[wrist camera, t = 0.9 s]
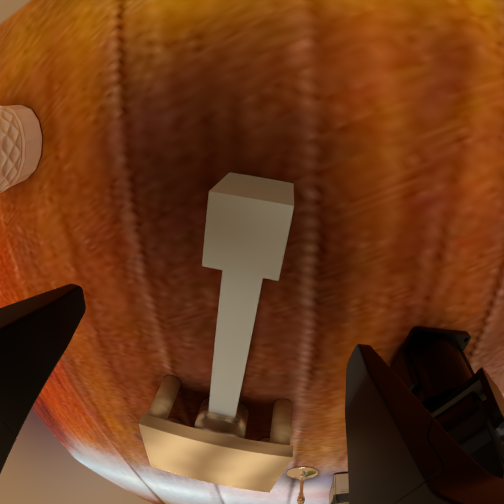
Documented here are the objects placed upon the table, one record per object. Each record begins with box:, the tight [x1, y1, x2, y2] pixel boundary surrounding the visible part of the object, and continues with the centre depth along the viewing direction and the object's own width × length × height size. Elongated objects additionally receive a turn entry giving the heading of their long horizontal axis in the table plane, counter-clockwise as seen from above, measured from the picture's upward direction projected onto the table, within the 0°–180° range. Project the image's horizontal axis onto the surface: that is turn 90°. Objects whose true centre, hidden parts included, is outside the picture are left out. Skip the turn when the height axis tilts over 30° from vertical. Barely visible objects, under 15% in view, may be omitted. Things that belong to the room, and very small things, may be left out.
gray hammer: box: [202, 172, 294, 418], centre depth 21 cm, size 4×20×5 cm, turn 171°
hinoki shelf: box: [139, 375, 293, 492], centre depth 26 cm, size 13×10×6 cm
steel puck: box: [194, 397, 249, 439], centre depth 28 cm, size 5×5×3 cm
